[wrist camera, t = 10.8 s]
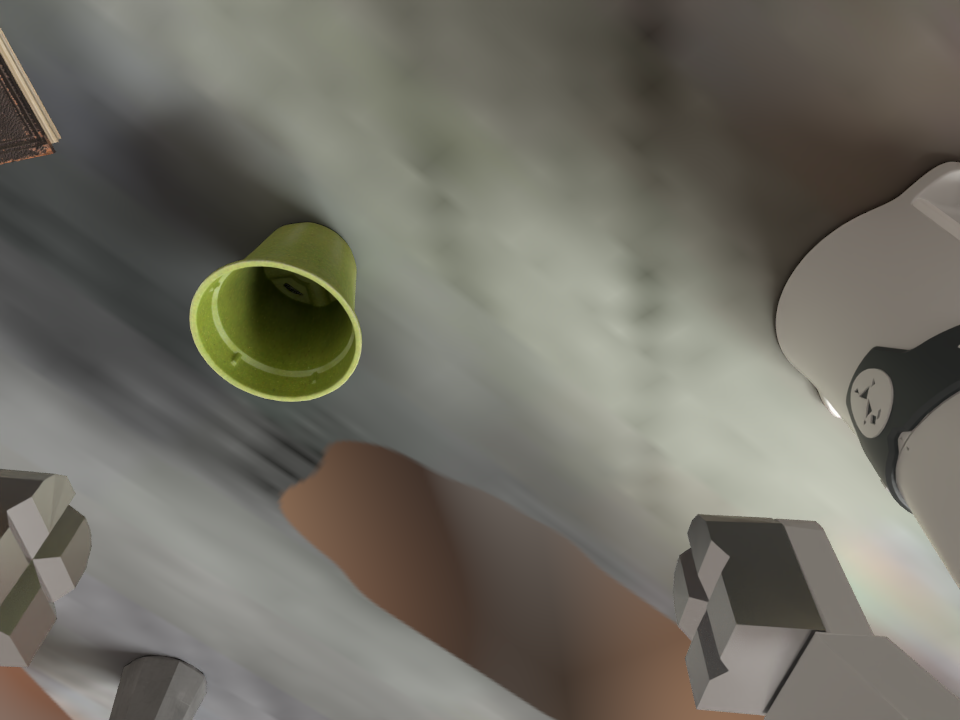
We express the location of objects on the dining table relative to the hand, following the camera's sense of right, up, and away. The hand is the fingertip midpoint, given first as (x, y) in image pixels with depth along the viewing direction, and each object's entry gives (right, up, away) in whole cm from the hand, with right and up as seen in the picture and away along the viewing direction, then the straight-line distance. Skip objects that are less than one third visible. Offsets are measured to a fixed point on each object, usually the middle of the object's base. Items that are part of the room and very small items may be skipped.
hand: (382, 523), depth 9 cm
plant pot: (-10, +9, +36) cm, 39 cm away
